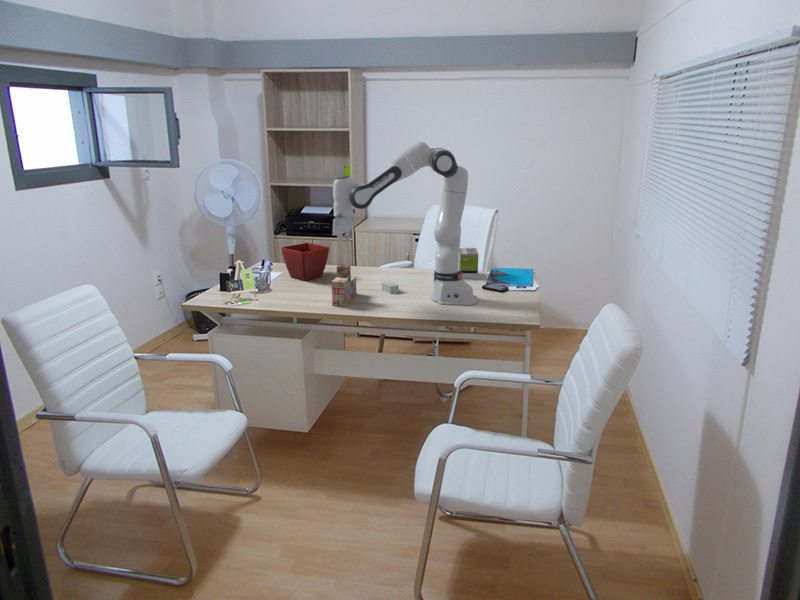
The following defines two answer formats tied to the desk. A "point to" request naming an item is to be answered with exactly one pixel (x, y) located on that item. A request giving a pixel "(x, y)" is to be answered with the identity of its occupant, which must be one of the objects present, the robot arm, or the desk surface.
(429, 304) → the desk surface
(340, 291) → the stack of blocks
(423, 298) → the desk surface
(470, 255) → the tea box
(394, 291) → the sage block
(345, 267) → the walnut cube
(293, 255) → the plant pot
